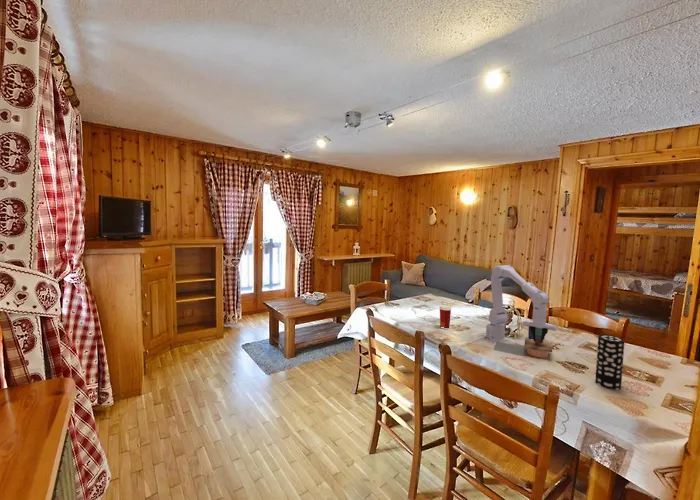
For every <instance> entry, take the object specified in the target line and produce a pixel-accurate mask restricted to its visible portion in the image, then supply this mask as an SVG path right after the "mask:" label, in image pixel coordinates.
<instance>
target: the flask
mask: <svg viewBox="0 0 700 500" xmlns="http://www.w3.org/2000/svg"><path fill="white" fill-rule="evenodd" d="M535 337H539V338H541V337H542V328H536V331H535ZM545 337H546V336H545ZM545 337H544V339H543V341H544V340H545ZM528 338H529V339H530V340H531V339H533V340H534V338H533V335H532V332H531V330H530V327H528V337H527V339H528Z"/></svg>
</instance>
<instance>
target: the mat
mask: <svg viewBox="0 0 700 500" xmlns="http://www.w3.org/2000/svg"><path fill="white" fill-rule="evenodd" d="M525 349H526V347H524V345H522V346H521V345H518V344H513V343H512V344H511V343H506V342H502V341H495V345H494V348H493V351H497V352H502V353H506V354H511V355H516V356H521V357H524V356H525Z"/></svg>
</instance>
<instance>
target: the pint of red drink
mask: <svg viewBox="0 0 700 500" xmlns="http://www.w3.org/2000/svg"><path fill="white" fill-rule="evenodd" d="M438 309H439V325H440V326H441V327H444V328H449V329H450V324H451V323H450V322H451V316H452V314H451V311H452V308H451V306H450V305H443V304H442V305H439V308H438ZM441 327H440V328H441Z"/></svg>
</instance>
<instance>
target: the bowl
mask: <svg viewBox="0 0 700 500" xmlns="http://www.w3.org/2000/svg"><path fill="white" fill-rule="evenodd" d="M526 350H527V351H526V352H527V354H528V355H530V356H532V357H536V358H545V359H546V358H548V356H549V352H547V351H542V350H536V349H531V348H527V349H526Z"/></svg>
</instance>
